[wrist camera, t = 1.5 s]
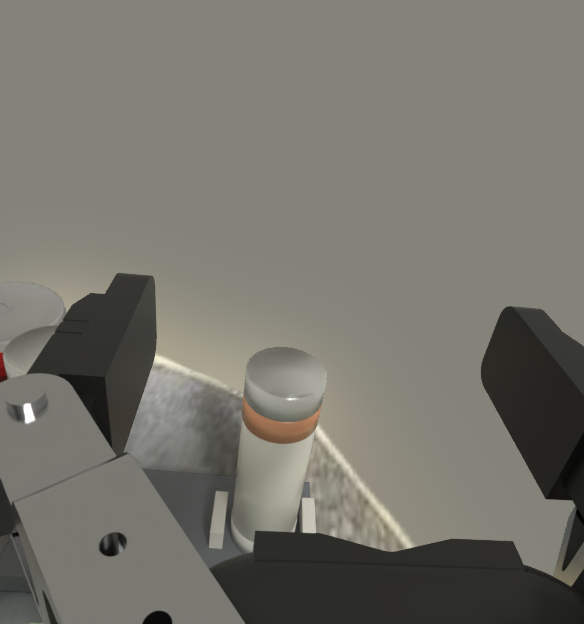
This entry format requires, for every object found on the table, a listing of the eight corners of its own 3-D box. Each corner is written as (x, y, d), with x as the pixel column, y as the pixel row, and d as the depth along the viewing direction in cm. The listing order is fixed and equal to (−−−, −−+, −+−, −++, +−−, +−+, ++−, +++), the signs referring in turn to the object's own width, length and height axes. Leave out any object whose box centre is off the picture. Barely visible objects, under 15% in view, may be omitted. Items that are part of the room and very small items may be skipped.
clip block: (-4, 590, 29) (-14, 559, 27) (52, 476, 35) (46, 446, 34) (310, 609, 30) (318, 581, 28) (306, 496, 37) (312, 468, 35)
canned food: (27, 384, 43) (5, 269, 37) (103, 419, 40) (92, 303, 35) (-60, 443, 37) (-103, 316, 31) (24, 488, 34) (-6, 360, 28)
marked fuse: (226, 557, 30) (242, 394, 24) (233, 500, 34) (248, 343, 27) (294, 562, 31) (329, 402, 24) (293, 504, 34) (324, 351, 27)
